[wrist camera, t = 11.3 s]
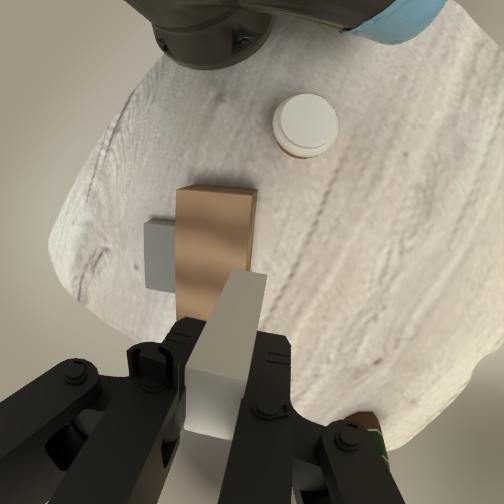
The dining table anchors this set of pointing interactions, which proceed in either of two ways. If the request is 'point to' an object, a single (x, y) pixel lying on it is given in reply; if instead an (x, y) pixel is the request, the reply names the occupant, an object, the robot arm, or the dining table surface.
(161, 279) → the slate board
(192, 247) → the walnut arch bridge
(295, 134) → the pill bottle
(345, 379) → the dining table surface
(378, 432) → the beer bottle
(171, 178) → the dining table surface
